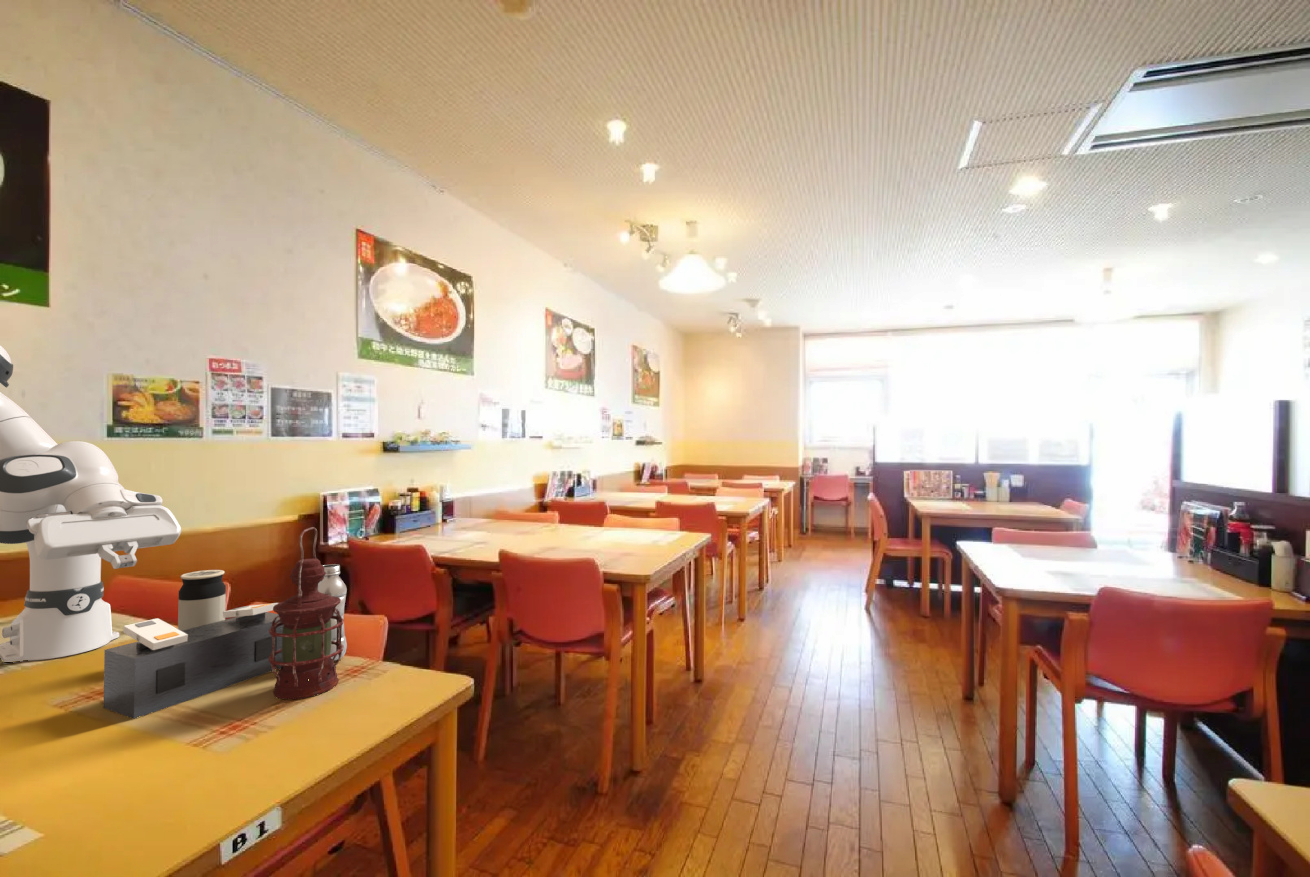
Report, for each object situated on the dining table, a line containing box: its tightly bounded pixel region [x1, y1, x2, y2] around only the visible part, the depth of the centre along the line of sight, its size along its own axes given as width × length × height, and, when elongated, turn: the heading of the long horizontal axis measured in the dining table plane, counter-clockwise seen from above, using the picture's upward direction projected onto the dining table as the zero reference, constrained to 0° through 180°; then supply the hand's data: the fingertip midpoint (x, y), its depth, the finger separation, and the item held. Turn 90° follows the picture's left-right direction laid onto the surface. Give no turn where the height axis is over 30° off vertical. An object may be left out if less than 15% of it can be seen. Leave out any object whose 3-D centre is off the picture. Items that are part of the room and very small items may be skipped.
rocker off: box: [223, 602, 279, 619], centre depth 115 cm, size 10×5×1 cm, turn 66°
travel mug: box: [177, 569, 227, 631], centre depth 122 cm, size 8×8×18 cm
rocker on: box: [122, 618, 188, 650], centre depth 101 cm, size 10×5×1 cm, turn 66°
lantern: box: [269, 526, 345, 700], centre depth 107 cm, size 12×12×30 cm
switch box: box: [102, 611, 284, 720], centre depth 108 cm, size 10×26×11 cm, turn 156°
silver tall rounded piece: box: [318, 563, 348, 662], centre depth 120 cm, size 6×7×20 cm
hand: (125, 565), depth 104 cm, fingers closed
